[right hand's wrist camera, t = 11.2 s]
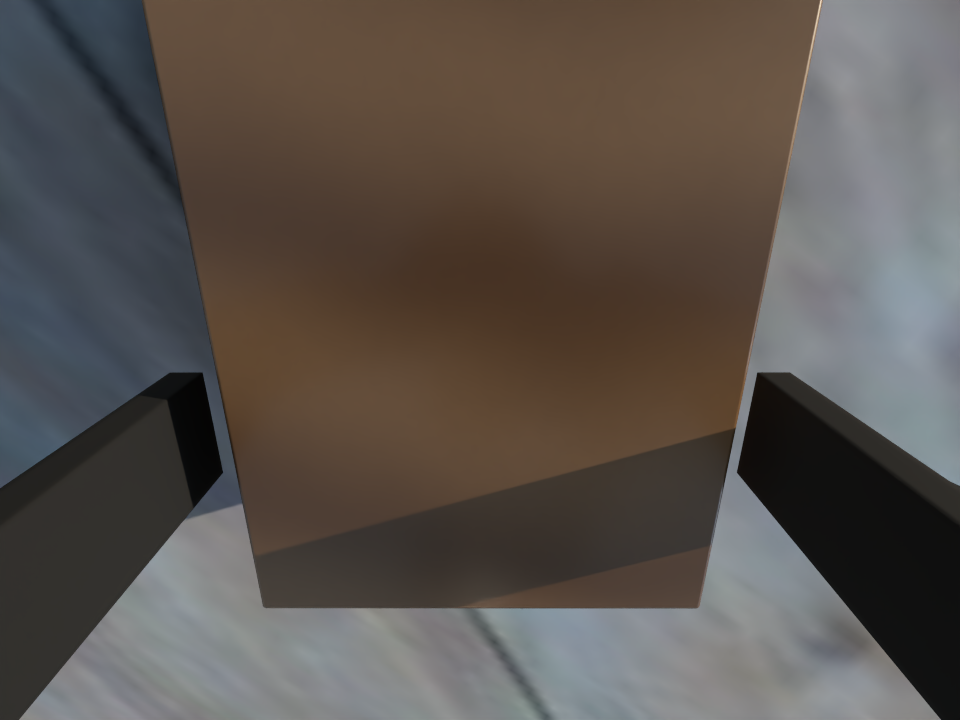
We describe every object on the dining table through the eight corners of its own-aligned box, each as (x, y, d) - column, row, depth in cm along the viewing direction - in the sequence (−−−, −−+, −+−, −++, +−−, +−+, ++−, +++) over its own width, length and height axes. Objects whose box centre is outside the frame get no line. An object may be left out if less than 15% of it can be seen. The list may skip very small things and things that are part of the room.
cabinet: (315, -91, 16) (37, -503, 6) (647, -91, 16) (928, -504, 6) (360, 403, 22) (262, 609, 12) (600, 403, 22) (700, 609, 12)
